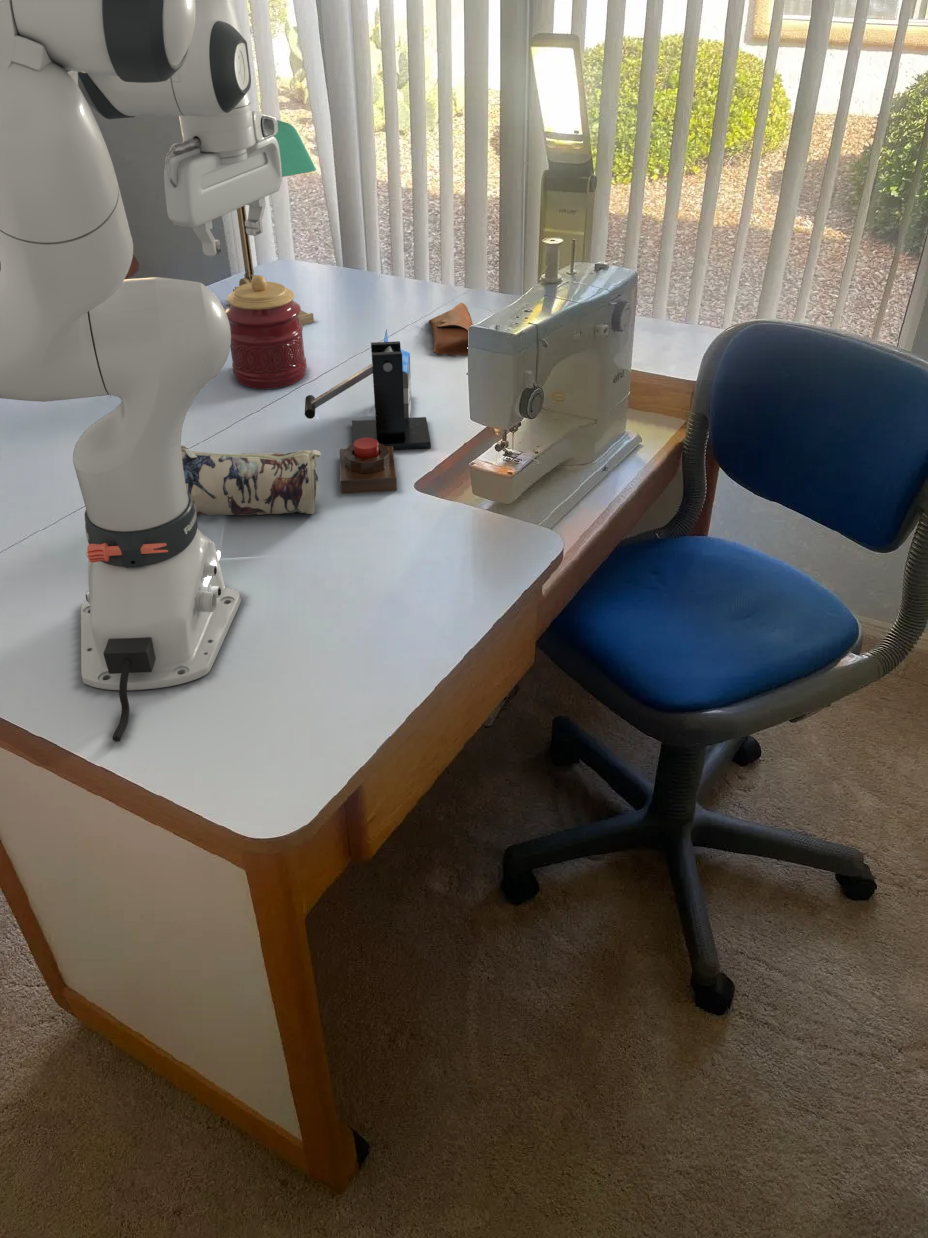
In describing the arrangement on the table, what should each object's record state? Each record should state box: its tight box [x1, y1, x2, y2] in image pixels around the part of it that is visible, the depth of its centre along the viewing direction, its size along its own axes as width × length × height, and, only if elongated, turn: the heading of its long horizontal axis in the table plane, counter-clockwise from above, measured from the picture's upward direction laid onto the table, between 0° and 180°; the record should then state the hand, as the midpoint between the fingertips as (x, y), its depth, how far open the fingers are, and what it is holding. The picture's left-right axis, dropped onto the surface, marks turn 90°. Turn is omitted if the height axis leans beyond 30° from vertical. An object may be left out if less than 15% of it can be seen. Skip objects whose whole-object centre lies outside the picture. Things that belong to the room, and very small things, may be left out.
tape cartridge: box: [383, 328, 412, 418], centre depth 158 cm, size 9×4×12 cm, turn 0°
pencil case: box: [181, 444, 322, 516], centre depth 133 cm, size 22×8×10 cm, turn 90°
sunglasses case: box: [428, 302, 474, 356], centre depth 187 cm, size 18×7×7 cm
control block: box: [339, 443, 398, 495], centre depth 143 cm, size 10×8×4 cm
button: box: [354, 438, 379, 459], centre depth 141 cm, size 4×4×2 cm
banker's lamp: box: [228, 119, 317, 326], centre depth 187 cm, size 16×21×35 cm
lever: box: [304, 346, 394, 419], centre depth 147 cm, size 16×5×2 cm, turn 95°
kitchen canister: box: [224, 274, 308, 390], centre depth 168 cm, size 13×13×18 cm
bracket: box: [351, 340, 432, 452], centre depth 149 cm, size 12×9×15 cm
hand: (234, 243), depth 129 cm, fingers open, 8 cm apart
